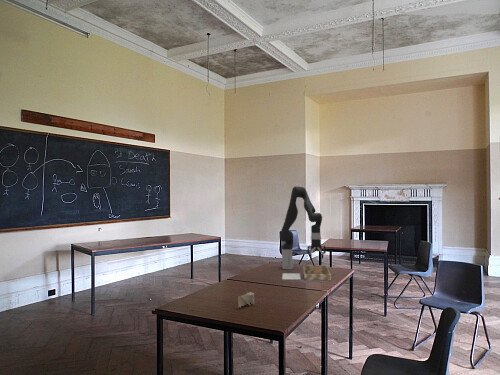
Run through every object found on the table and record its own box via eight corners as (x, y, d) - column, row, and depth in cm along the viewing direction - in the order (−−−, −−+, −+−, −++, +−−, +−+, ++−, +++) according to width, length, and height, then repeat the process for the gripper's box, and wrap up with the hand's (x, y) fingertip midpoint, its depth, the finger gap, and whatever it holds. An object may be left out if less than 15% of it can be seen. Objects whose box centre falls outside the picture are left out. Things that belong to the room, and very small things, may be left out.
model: (254, 305, 218) (254, 292, 218) (242, 309, 210) (242, 296, 210) (250, 304, 220) (250, 291, 220) (238, 308, 212) (238, 295, 212)
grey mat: (282, 279, 281) (282, 278, 281) (282, 274, 301) (282, 273, 301) (300, 279, 279) (300, 278, 279) (299, 274, 299) (299, 273, 299)
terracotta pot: (313, 277, 285) (313, 267, 285) (312, 276, 291) (312, 265, 291) (320, 277, 285) (320, 267, 285) (320, 276, 291) (320, 265, 291)
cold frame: (304, 279, 279) (304, 270, 279) (303, 274, 299) (303, 265, 299) (331, 279, 277) (331, 270, 277) (328, 274, 297) (328, 265, 297)
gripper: (324, 237, 292) (325, 258, 291) (306, 237, 293) (307, 258, 293) (325, 238, 284) (326, 259, 284) (307, 239, 286) (307, 259, 285)
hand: (316, 258), depth 288 cm, fingers open, 8 cm apart
